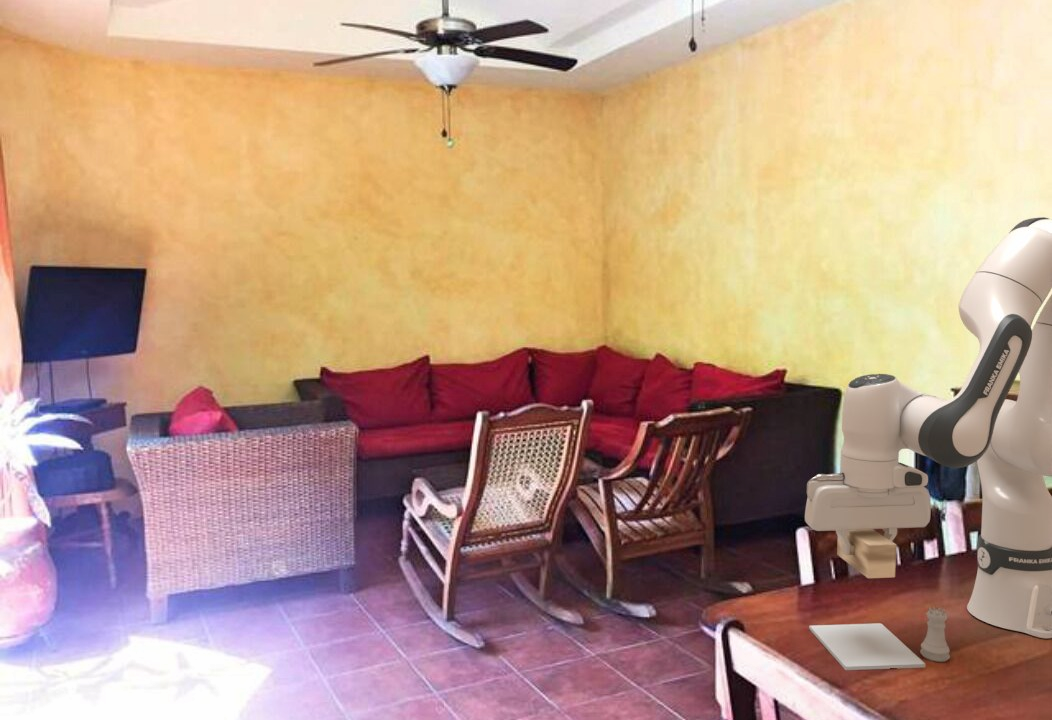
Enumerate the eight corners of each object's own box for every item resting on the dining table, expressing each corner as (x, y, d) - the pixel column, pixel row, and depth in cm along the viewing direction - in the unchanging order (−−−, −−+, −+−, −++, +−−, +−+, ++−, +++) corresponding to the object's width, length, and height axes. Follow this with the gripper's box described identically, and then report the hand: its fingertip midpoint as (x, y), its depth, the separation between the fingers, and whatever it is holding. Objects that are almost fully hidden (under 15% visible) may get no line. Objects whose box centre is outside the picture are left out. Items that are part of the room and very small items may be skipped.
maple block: (894, 577, 132) (896, 543, 132) (867, 578, 132) (869, 544, 131) (862, 553, 143) (863, 521, 143) (837, 554, 143) (838, 522, 142)
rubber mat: (880, 626, 146) (881, 623, 146) (925, 667, 131) (925, 663, 131) (809, 628, 146) (809, 625, 146) (845, 670, 131) (845, 666, 131)
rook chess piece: (953, 664, 132) (956, 616, 131) (923, 661, 133) (926, 614, 132) (945, 651, 137) (947, 605, 136) (916, 649, 138) (918, 603, 137)
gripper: (815, 479, 132) (813, 562, 133) (937, 475, 133) (933, 557, 135) (799, 469, 138) (797, 549, 140) (916, 466, 140) (913, 544, 141)
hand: (865, 553), depth 137 cm, fingers closed on maple block, 4 cm apart
